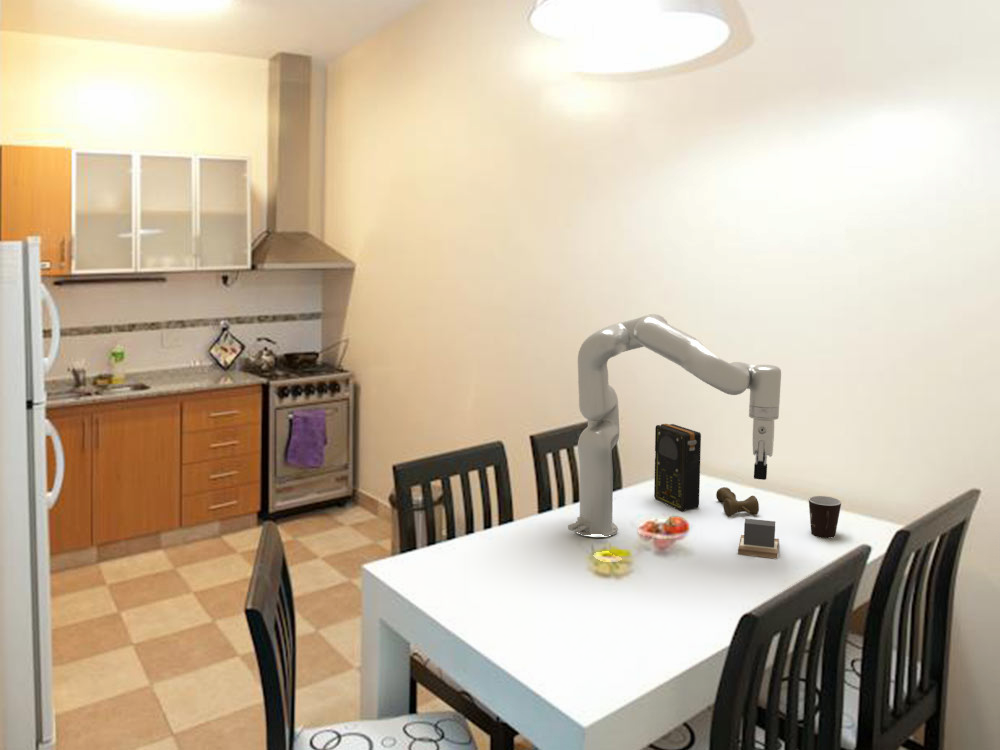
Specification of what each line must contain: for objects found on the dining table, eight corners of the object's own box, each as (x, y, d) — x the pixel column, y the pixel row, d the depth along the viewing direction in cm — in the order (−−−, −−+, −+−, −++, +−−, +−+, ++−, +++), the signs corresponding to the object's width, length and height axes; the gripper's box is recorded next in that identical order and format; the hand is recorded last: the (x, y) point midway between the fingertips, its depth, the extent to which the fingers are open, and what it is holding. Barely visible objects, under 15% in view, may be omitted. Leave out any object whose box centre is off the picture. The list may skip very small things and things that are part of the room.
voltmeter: (650, 498, 261) (652, 424, 257) (672, 495, 264) (673, 421, 260) (680, 513, 247) (682, 434, 243) (702, 508, 250) (705, 431, 246)
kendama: (737, 501, 258) (765, 521, 239) (708, 504, 257) (734, 523, 238) (737, 484, 258) (765, 501, 238) (708, 486, 256) (734, 504, 237)
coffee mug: (812, 526, 233) (814, 493, 231) (843, 533, 228) (845, 499, 226) (798, 538, 224) (800, 504, 223) (830, 545, 219) (832, 510, 217)
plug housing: (774, 547, 213) (774, 526, 212) (743, 544, 216) (744, 523, 215) (774, 542, 217) (775, 521, 216) (744, 539, 220) (745, 518, 219)
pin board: (777, 558, 210) (778, 540, 209) (737, 554, 213) (738, 536, 213) (778, 544, 220) (779, 526, 219) (740, 539, 224) (741, 522, 223)
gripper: (778, 418, 202) (773, 488, 205) (779, 407, 216) (775, 472, 219) (747, 416, 205) (743, 484, 208) (750, 405, 219) (747, 469, 222)
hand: (760, 478), depth 214 cm, fingers closed
